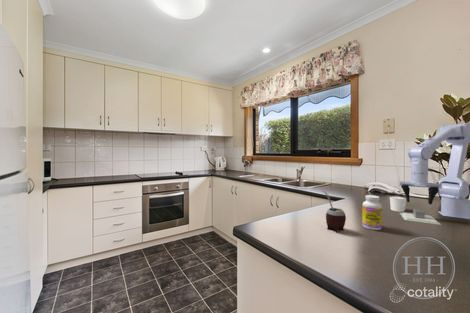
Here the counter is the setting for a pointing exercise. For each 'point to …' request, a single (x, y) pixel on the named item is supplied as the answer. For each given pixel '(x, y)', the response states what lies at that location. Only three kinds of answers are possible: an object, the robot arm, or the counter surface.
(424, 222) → the mat
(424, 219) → the lid
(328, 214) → the mate gourd
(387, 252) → the counter surface
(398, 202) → the shot glass
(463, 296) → the counter surface
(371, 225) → the supplement bottle
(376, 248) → the counter surface
